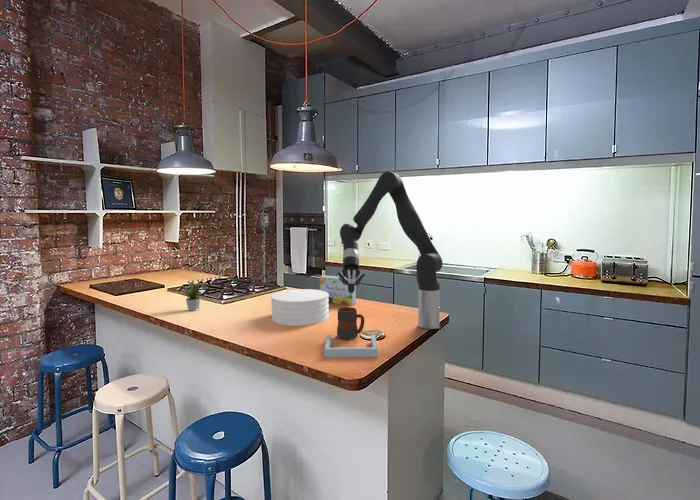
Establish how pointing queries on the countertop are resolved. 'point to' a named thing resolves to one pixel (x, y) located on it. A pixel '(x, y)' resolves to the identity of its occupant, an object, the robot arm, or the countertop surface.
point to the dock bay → (351, 350)
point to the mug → (348, 323)
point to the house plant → (193, 296)
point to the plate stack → (300, 307)
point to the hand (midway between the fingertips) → (351, 292)
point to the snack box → (337, 290)
